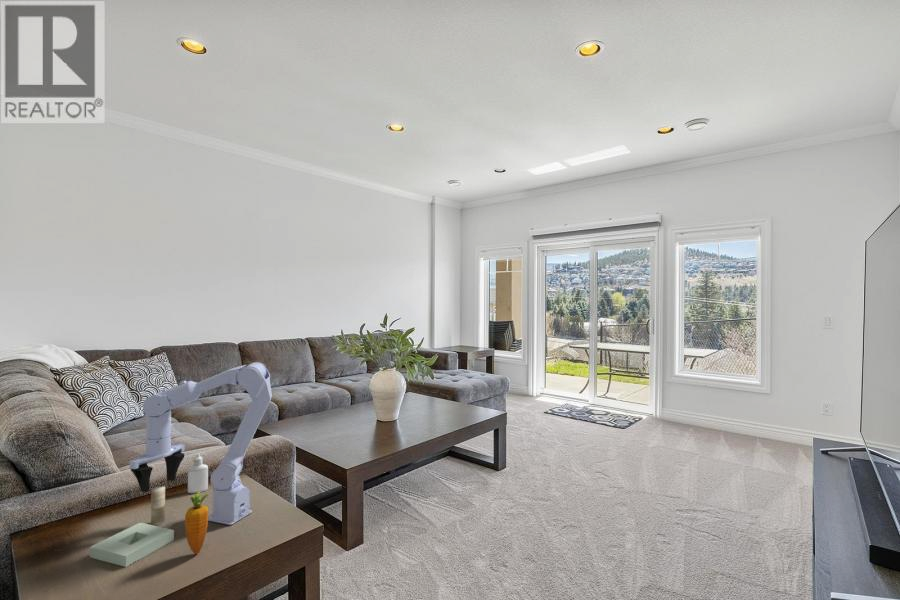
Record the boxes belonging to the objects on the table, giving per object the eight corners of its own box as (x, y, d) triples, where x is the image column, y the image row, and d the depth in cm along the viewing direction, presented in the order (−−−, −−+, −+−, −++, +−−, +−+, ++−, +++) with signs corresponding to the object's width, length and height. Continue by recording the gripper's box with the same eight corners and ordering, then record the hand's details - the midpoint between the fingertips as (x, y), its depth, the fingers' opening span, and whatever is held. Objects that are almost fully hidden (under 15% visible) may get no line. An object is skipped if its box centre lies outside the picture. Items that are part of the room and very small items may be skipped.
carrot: (192, 548, 106) (193, 487, 107) (212, 548, 106) (213, 488, 106) (179, 560, 101) (180, 496, 102) (200, 560, 101) (200, 497, 101)
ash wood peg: (167, 520, 120) (168, 486, 120) (156, 526, 116) (157, 491, 117) (159, 519, 121) (159, 485, 121) (148, 524, 117) (148, 490, 118)
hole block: (173, 539, 110) (173, 530, 110) (125, 567, 99) (126, 556, 99) (139, 531, 114) (140, 522, 114) (89, 557, 102) (90, 546, 102)
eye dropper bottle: (201, 494, 136) (202, 456, 136) (185, 493, 137) (185, 455, 137) (210, 488, 141) (210, 451, 141) (194, 487, 141) (194, 451, 141)
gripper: (172, 427, 127) (171, 473, 127) (121, 443, 113) (120, 494, 113) (190, 430, 125) (189, 476, 125) (140, 445, 111) (140, 498, 111)
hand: (158, 485), depth 119 cm, fingers open, 7 cm apart
